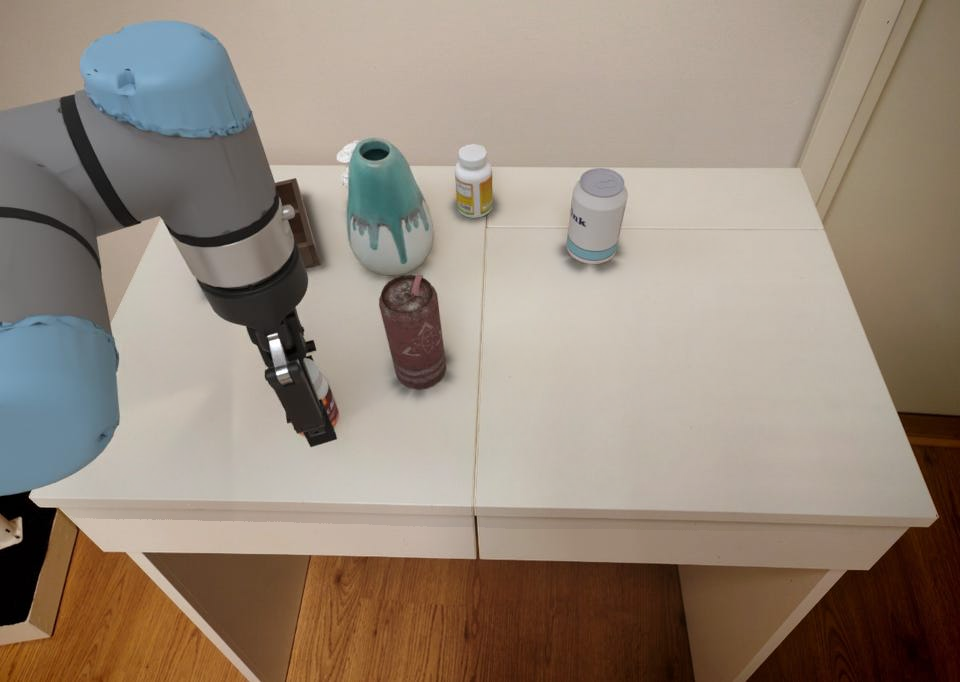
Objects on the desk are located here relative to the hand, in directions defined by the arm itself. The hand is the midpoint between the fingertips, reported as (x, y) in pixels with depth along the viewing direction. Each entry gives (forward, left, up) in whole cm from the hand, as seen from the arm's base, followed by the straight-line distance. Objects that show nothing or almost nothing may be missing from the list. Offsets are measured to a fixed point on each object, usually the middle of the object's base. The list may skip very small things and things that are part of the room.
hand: (318, 417), depth 62 cm
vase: (+14, +26, -6) cm, 30 cm away
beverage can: (+40, +17, -6) cm, 44 cm away
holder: (-4, +36, -6) cm, 37 cm away
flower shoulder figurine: (+12, +38, -6) cm, 40 cm away
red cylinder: (+12, +6, -6) cm, 15 cm away
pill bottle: (0, 0, -1) cm, 1 cm away
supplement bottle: (+28, +32, -6) cm, 43 cm away
